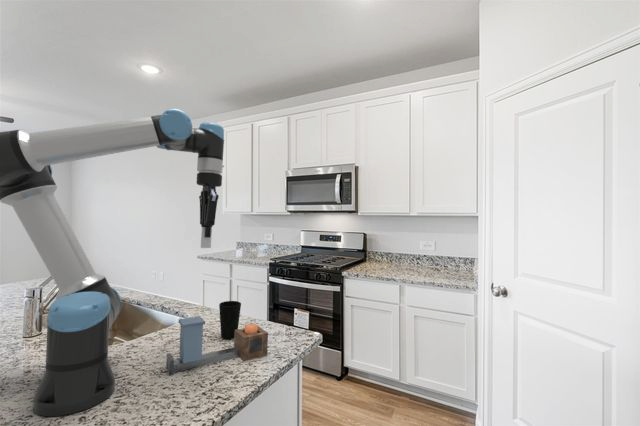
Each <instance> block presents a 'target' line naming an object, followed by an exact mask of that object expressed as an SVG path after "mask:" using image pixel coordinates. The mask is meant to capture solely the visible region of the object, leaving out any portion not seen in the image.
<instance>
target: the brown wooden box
mask: <svg viewBox="0 0 640 426" xmlns="http://www.w3.org/2000/svg"><path fill="white" fill-rule="evenodd" d="M268 341H269V332H268V331H266V330H265V329H263V328H261V326H259V325H258V330H257V333H256V334H251V335H246V334H245V327H243V328H238V329H237V330H235V332H234V339H233V348H234V347H236V348H237V349H238V350H239V357H238V358H239V359H240V360H242V362H245V361H249V360H255V359H258V358H261V357H266V356H268V348H269V347H268V344H269V343H268Z"/></svg>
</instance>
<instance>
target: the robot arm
mask: <svg viewBox="0 0 640 426" xmlns="http://www.w3.org/2000/svg"><path fill="white" fill-rule="evenodd" d="M153 147H156V148H158V149H160V150H166V151H175V152H186V153H193V154H197V163H196V166H197V167H196V171H197V173H196V185H198V186H202V190H201V191H200V195H199V196H198V198H199V225H200V226H201V237H200V248H201V249H211V248H212V235H213V234H212V231H213V226H215V224H216V223H215V222H216V215H217V214H216V213H217V205H218V200H219V194H218V193H217V188H219V187H222V184H223V183H222V182H223V175H222V173H223V168H224V167H225V165H224V164H223V160H224V148H225V130H224V127H223V126H222V125H220V124H218V123H215V122H202V123H200V124H199V127H198V128H195V127H193V124H192V120H191V118H190V116H189V115H188V114H187V113H186V112H185V111H184V110H181V109H178V108H169V109H167V110H165V111H163V113H162V114H158V115H157V114H156V115H152V116H146V117H145V116H144V117H137V118H131V119H122V120H114V121H109V122H108V121H107V122H101V123H93V124H86V125H80V126H79V125H78V126H73V127H67V128H66V127H64V128H58V129H52V130H50V129H49V130H43V131H36V132H29V131H27V130H25V129H15V130H7V131H5V130H4V131H0V203H1V204H4V205H8V206H11V207H12V208H13V210H14V212H15V214H16V215H17V218H18V219H19V221H20V223H21V225H22V227H23V228H24V230H25V232H26V233H27V235H28V237H29V239H30V240H31V242H32V244H33V246H34V248H35V249H36V251H37V254H38V255H39V256H40V258H41V260H42V262H43V264H44V265H45V267H46V269H47V271H48V273H49V275H50V276H51V278H52V280H53V281H54V284H55V285H56V287H57V288H58V292H57V294H56V296H55V300H54V301H53V302H52V303H51V304H50V306H49V307H48V314H47V316H46V324H47V327H46V353H45V370H44V373H43V375H42V378H41V380H40V382H39V385H38V387H37V390H36V392H35V394H34V397H33V406H32V407H33V412H34V413H35V414H37V415H39V416H42V417H61V416H66V415H71V414H75V413H79V412H82V411H86V410H88V409H91V408H92V407H93V408H94V407H95V406H97V405H99V404H101V403H103V402H104V401H105V400H107V399H108V398H109V397H110V396H112V395H113V393H114V392H115V386H116V377H115V375H114V372H113V369H112V366H111V363H110V361H109V355H108V354H109V333H110V329H111V327H112V325H113V324H114V322H115V321H116V320H117V319H118V317H119V314H120V312H121V309H122V299H121V296H120V294H119V292H118V290H117V289H115V288H113V287H112V286H110V284H109V282H108V280H107V278H106V276H105V275H102V274H98V273H96V271H95V270H94V268H93V266H92V264H91V262H90V260H89V258H88V257H87V255H86V252H85V251H84V249H83V247H82V245H81V243H80V241H79V240H78V237H77V236H76V235H75V231H74V230H73V228H72V226H71V224H70V222H69V220H68V219H67V217H66V215H65V214H64V211H63V210H62V208H61V206H60V204H59V202H58V200H57V198H56V197H55V192H56V190H57V189H58V185H57V184H56V182H55V180H54V178H53V168H52V165H57V164H63V163H68V162H75V161H79V160H85V159H91V158H97V157H102V156H107V155H108V156H109V155H112V154H113V155H114V154H118V153H123V152H130V151H137V150H141V149H147V148H153Z"/></svg>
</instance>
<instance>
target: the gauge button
mask: <svg viewBox="0 0 640 426" xmlns="http://www.w3.org/2000/svg"><path fill="white" fill-rule="evenodd" d="M258 326H259V325H258V324H255V323H248V324H246V325H244V328H245V334H246V335H251V334H256V333H257V330H258Z"/></svg>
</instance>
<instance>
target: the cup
mask: <svg viewBox="0 0 640 426" xmlns="http://www.w3.org/2000/svg"><path fill="white" fill-rule="evenodd" d="M218 306H219V307H218V308H219V323H220V338H221V339H222V340H226V341H228V340H229V341H231V340H234V332H235V330H237V329H239V323H240V315H241V307H242V302H241V301H237V300H226V301H222V302H220V303H219V304H218Z"/></svg>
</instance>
